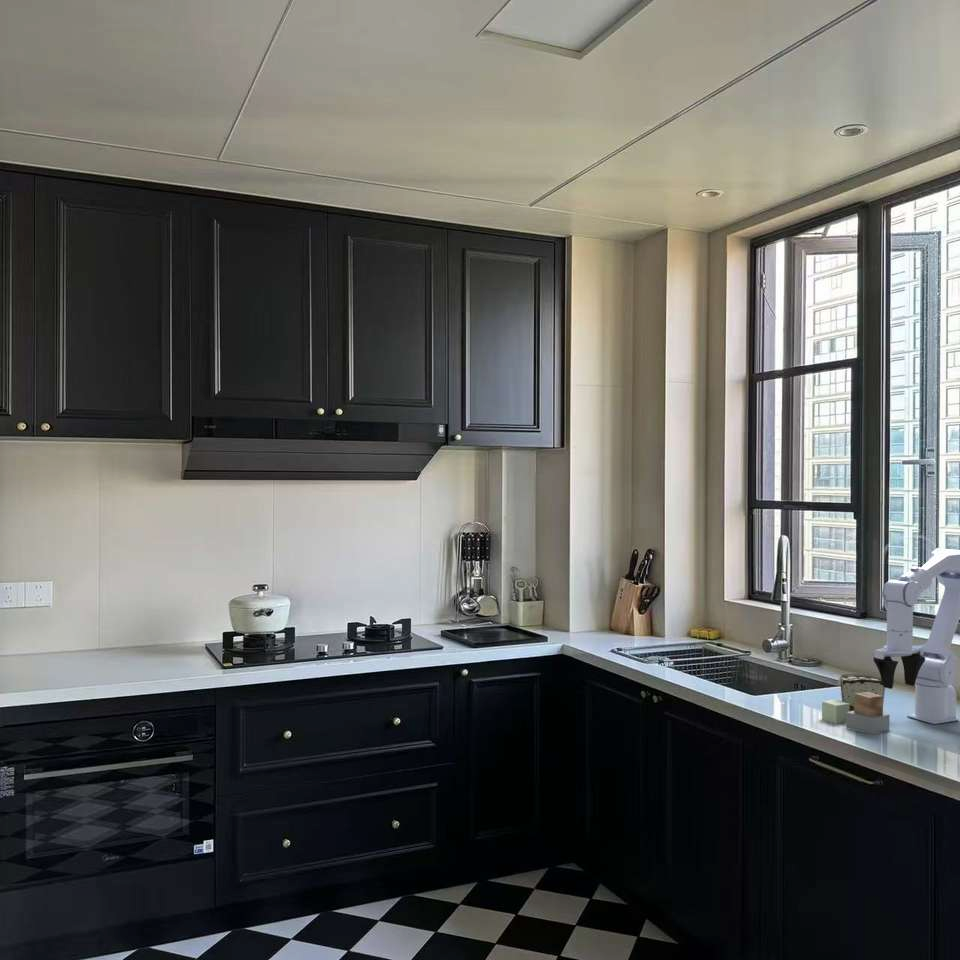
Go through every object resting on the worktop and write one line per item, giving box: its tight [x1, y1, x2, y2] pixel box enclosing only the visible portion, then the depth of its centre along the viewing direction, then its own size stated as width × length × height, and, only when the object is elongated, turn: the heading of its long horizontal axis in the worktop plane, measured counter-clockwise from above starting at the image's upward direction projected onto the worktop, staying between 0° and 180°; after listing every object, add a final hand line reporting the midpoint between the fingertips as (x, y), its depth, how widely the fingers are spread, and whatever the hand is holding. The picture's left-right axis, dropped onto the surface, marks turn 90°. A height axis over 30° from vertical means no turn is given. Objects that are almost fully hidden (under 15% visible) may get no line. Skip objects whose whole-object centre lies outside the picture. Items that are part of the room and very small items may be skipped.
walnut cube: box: [854, 692, 884, 717], centre depth 218 cm, size 4×4×4 cm
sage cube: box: [821, 699, 850, 724], centre depth 226 cm, size 4×4×4 cm
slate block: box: [845, 711, 890, 736], centre depth 218 cm, size 7×7×4 cm
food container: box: [837, 672, 886, 712], centre depth 232 cm, size 12×6×10 cm, turn 92°
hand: (898, 686), depth 220 cm, fingers open, 7 cm apart
